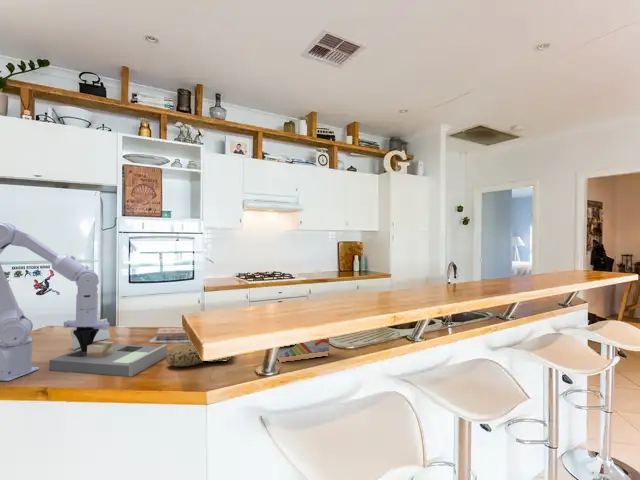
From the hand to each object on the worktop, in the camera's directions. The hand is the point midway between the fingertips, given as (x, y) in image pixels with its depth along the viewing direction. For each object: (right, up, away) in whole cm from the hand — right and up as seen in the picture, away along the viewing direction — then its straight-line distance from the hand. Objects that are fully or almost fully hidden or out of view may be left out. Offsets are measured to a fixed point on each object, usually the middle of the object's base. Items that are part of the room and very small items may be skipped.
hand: (85, 351), depth 110 cm
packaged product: (+17, -5, +28) cm, 33 cm away
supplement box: (-12, -1, +16) cm, 20 cm away
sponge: (+36, -5, +3) cm, 36 cm away
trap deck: (+8, -4, +1) cm, 9 cm away
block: (+5, -1, -1) cm, 5 cm away
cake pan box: (+68, -6, +9) cm, 69 cm away
